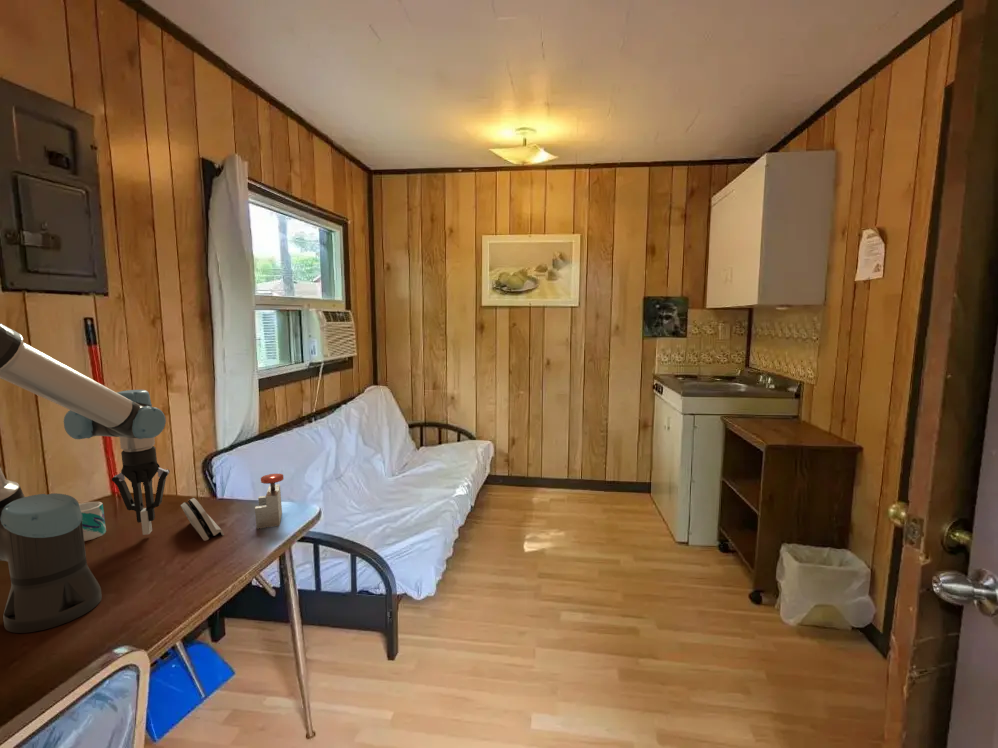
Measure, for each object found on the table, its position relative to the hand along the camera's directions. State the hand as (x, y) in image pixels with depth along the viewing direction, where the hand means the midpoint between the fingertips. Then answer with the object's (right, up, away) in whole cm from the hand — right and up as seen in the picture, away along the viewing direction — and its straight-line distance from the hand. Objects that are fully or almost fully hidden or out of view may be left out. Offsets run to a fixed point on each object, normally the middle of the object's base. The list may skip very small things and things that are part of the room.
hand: (147, 532), depth 139 cm
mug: (-19, -2, +4) cm, 20 cm away
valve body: (+29, 0, +10) cm, 30 cm away
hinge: (+12, -1, +4) cm, 13 cm away
